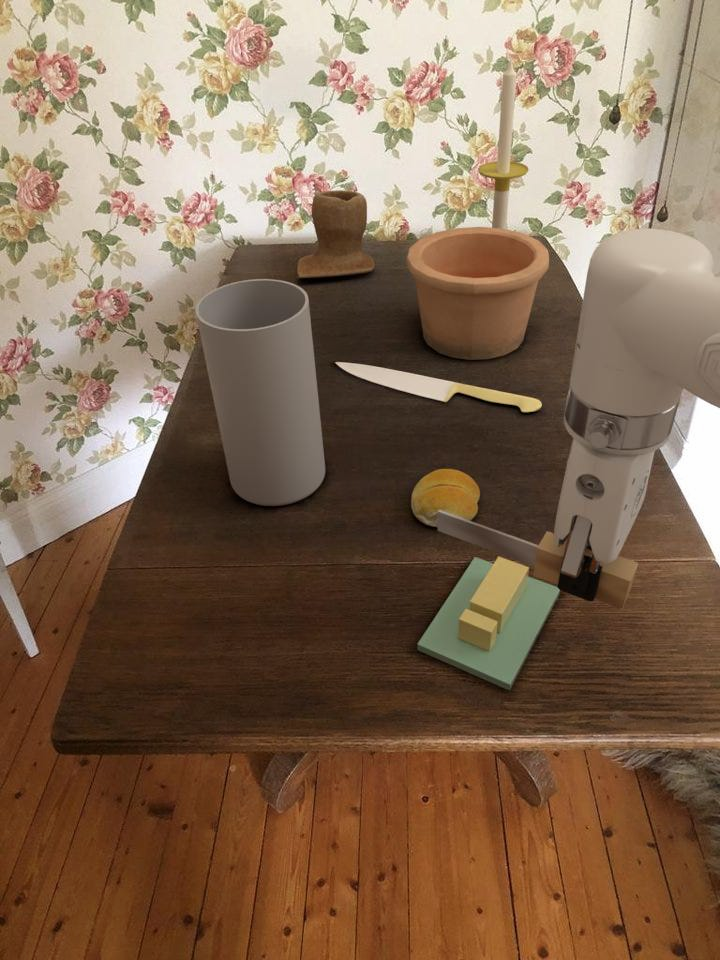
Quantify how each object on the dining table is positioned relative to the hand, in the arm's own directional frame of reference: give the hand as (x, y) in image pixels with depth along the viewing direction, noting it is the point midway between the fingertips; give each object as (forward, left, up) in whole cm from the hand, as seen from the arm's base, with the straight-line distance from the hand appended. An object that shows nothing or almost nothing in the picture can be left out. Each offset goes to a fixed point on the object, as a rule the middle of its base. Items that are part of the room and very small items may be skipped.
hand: (582, 580), depth 66 cm
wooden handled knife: (+5, 0, 0) cm, 5 cm away
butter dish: (+9, -2, -13) cm, 16 cm away
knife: (+35, -39, -13) cm, 54 cm away
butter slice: (+9, +2, -12) cm, 15 cm away
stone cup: (+71, -69, -13) cm, 100 cm away
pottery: (+36, -57, -13) cm, 68 cm away
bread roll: (+21, -16, -13) cm, 29 cm away
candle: (+41, -78, -13) cm, 89 cm away
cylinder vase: (+43, -11, -13) cm, 46 cm away
